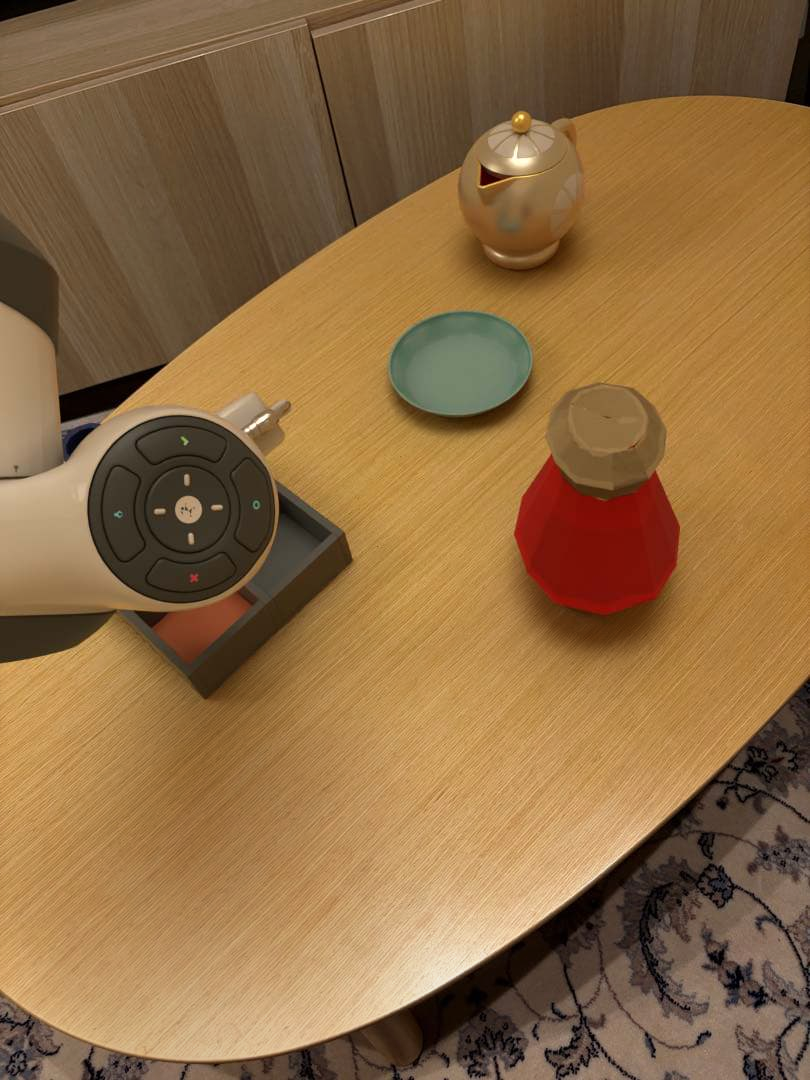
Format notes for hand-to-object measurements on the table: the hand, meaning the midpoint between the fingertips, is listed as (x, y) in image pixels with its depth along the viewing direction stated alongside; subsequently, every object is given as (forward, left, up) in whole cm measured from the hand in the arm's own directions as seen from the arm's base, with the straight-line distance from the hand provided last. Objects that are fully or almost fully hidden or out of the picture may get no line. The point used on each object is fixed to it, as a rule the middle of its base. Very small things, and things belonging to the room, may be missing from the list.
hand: (124, 504), depth 59 cm
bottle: (+27, -21, -21) cm, 40 cm away
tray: (+5, +5, -21) cm, 22 cm away
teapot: (+58, +11, -21) cm, 63 cm away
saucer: (+37, +3, -21) cm, 43 cm away
